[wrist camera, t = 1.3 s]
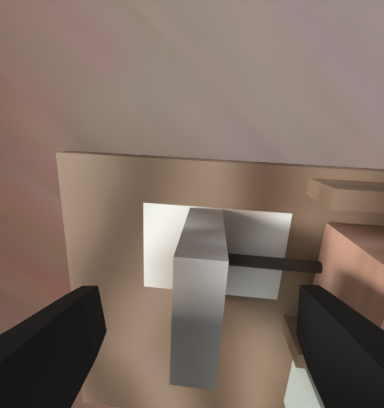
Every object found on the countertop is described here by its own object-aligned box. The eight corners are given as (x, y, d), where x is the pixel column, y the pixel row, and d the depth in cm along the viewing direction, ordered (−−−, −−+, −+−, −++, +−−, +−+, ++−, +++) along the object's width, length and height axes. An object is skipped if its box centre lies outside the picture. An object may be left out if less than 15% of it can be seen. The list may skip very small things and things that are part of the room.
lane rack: (436, 172, 11) (537, 187, 8) (352, 419, 16) (391, 497, 13) (70, 150, 13) (15, 155, 9) (91, 384, 18) (61, 446, 14)
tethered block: (427, 225, 11) (601, 295, 6) (396, 314, 12) (516, 429, 7) (189, 207, 12) (173, 256, 7) (185, 293, 13) (169, 384, 8)
